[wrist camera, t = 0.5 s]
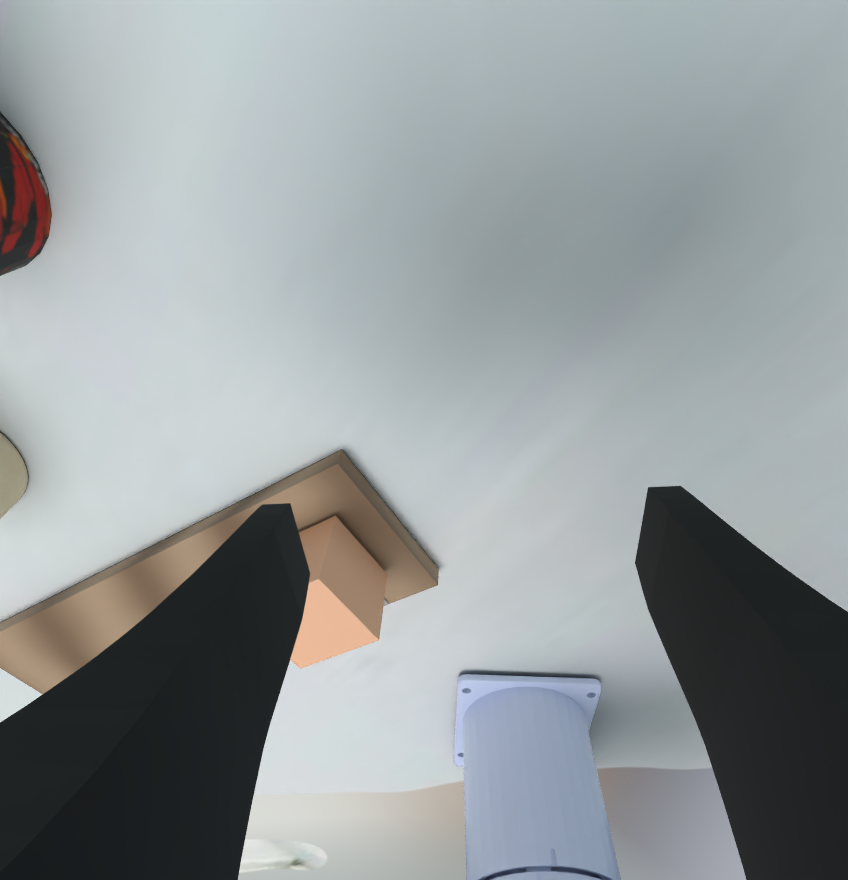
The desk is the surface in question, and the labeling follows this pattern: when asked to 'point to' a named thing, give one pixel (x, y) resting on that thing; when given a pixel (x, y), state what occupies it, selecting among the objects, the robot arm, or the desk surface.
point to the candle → (11, 476)
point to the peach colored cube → (338, 595)
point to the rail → (176, 558)
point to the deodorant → (20, 202)
